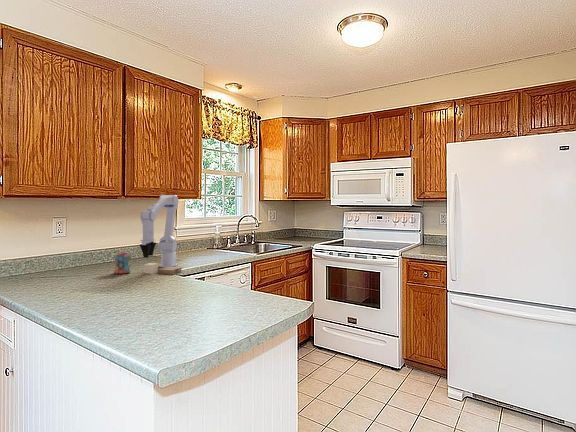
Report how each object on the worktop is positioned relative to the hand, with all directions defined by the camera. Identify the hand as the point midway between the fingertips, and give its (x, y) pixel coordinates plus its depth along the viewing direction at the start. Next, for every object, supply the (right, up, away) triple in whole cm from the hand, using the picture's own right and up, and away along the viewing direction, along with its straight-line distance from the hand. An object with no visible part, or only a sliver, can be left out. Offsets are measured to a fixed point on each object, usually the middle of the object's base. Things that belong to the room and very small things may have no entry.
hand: (148, 256), depth 202 cm
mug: (-13, -9, 0) cm, 16 cm away
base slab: (+11, -10, +3) cm, 15 cm away
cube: (+1, -10, +2) cm, 10 cm away
